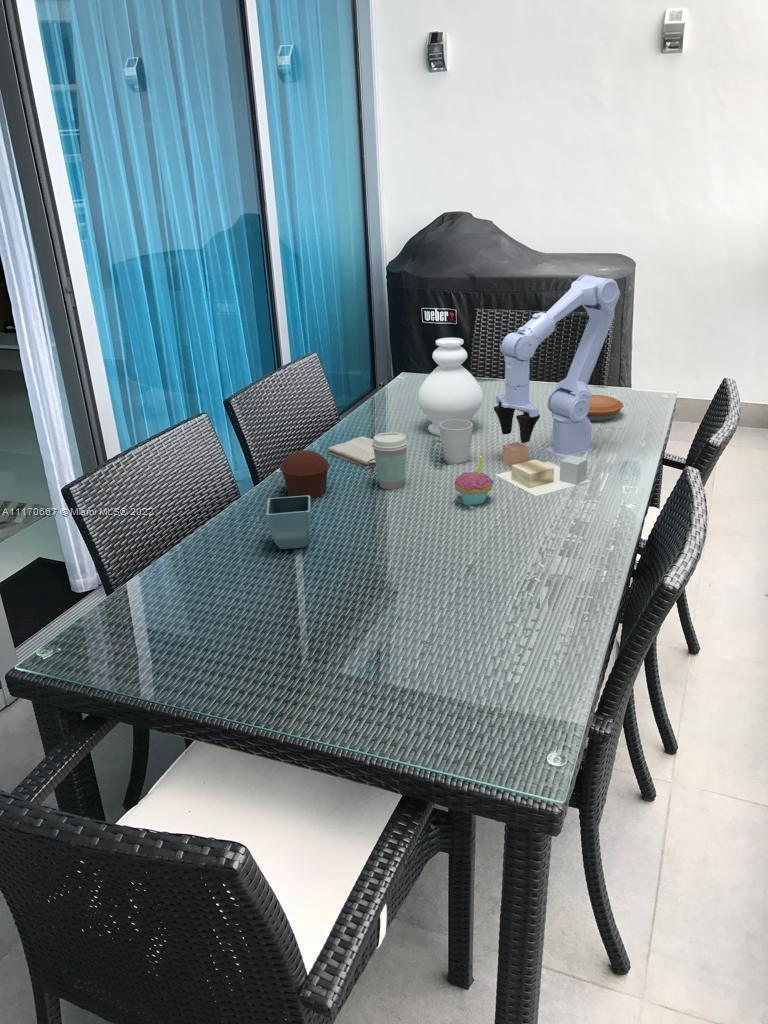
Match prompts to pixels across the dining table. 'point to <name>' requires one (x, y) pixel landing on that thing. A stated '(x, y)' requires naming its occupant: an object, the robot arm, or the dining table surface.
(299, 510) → the flower pot
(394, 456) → the coffee cup
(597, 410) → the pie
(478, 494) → the cupcake
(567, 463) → the grey block
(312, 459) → the muffin
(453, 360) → the decorative vase
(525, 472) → the maple block
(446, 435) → the cup
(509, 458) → the terracotta block
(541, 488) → the board
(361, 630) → the dining table surface
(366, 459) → the washcloth
